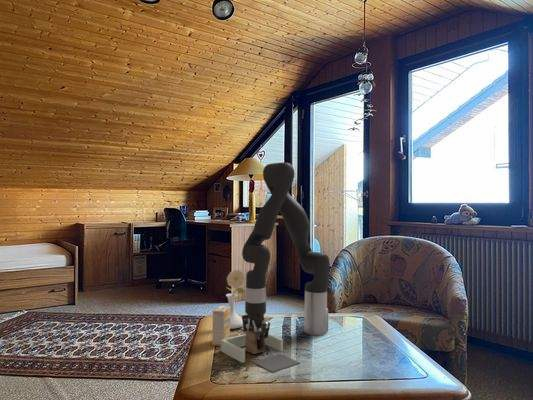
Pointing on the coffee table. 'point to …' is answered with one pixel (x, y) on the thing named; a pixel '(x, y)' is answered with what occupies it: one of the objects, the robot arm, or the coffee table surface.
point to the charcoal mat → (276, 363)
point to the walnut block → (253, 341)
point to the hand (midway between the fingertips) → (255, 346)
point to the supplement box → (221, 324)
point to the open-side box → (234, 343)
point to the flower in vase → (235, 280)
